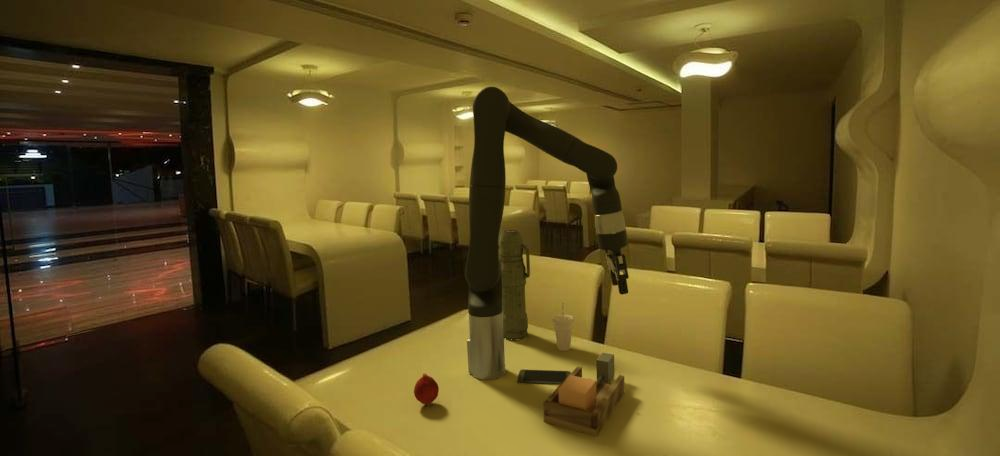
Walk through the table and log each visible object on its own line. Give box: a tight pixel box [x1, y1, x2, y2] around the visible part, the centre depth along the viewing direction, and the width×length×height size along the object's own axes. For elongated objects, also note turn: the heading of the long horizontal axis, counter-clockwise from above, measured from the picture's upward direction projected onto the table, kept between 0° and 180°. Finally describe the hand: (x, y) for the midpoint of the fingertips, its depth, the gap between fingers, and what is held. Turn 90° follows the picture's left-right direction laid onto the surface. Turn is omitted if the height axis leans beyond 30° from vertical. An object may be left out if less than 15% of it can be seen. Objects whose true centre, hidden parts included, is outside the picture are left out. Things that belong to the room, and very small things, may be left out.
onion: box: [413, 372, 440, 406], centre depth 109 cm, size 6×6×8 cm
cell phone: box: [516, 368, 572, 386], centre depth 121 cm, size 7×14×1 cm, turn 80°
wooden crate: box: [542, 366, 625, 437], centre depth 105 cm, size 20×12×4 cm, turn 149°
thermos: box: [498, 229, 531, 341], centre depth 150 cm, size 9×12×35 cm
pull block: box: [558, 352, 615, 412], centre depth 109 cm, size 25×6×7 cm, turn 149°
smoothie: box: [552, 302, 575, 352], centre depth 139 cm, size 6×6×14 cm
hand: (620, 289), depth 121 cm, fingers open, 8 cm apart
